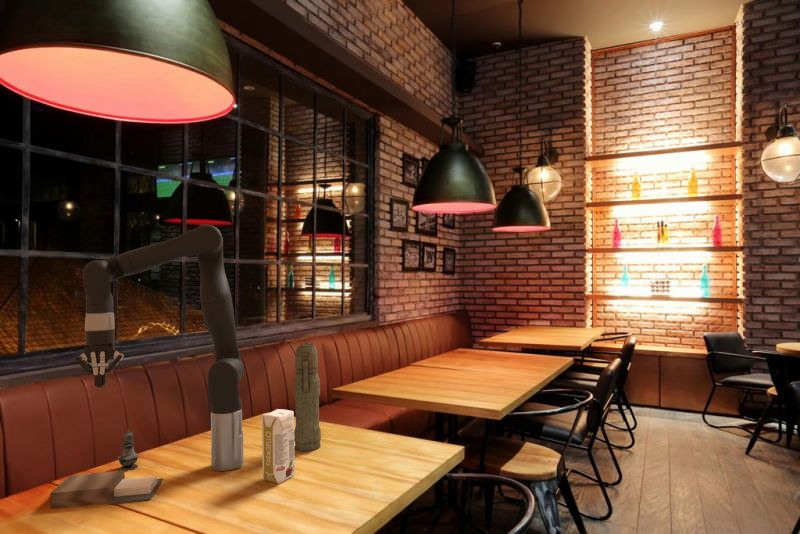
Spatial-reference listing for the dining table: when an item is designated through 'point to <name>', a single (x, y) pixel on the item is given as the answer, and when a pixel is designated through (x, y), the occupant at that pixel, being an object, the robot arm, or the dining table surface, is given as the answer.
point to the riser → (86, 489)
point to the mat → (136, 496)
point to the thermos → (307, 399)
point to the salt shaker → (128, 453)
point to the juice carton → (278, 445)
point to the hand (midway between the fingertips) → (100, 387)
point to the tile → (135, 486)
